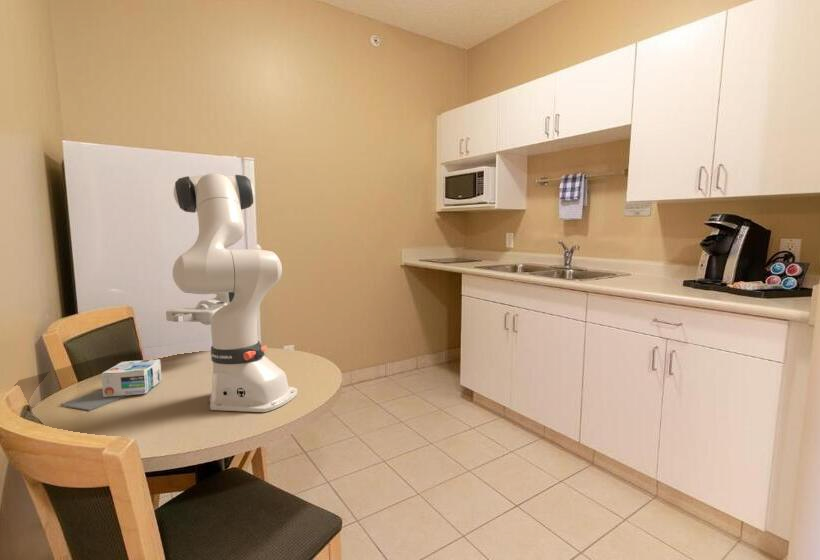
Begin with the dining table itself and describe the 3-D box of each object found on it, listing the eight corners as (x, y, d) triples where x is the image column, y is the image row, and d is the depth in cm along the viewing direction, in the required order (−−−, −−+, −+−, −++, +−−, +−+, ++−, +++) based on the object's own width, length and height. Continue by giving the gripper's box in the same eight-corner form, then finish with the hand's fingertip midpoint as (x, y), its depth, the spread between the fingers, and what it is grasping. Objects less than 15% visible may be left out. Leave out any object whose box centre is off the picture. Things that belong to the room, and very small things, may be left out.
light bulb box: (160, 358, 119) (144, 369, 108) (162, 380, 120) (146, 394, 109) (120, 361, 117) (99, 373, 106) (122, 384, 117) (102, 397, 107)
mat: (142, 390, 113) (142, 388, 113) (89, 411, 100) (89, 409, 100) (114, 385, 117) (114, 384, 117) (59, 405, 104) (59, 404, 104)
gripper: (185, 302, 146) (150, 309, 133) (231, 303, 139) (198, 310, 126) (187, 319, 146) (152, 327, 133) (232, 321, 140) (200, 329, 127)
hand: (175, 319), depth 130 cm, fingers closed
